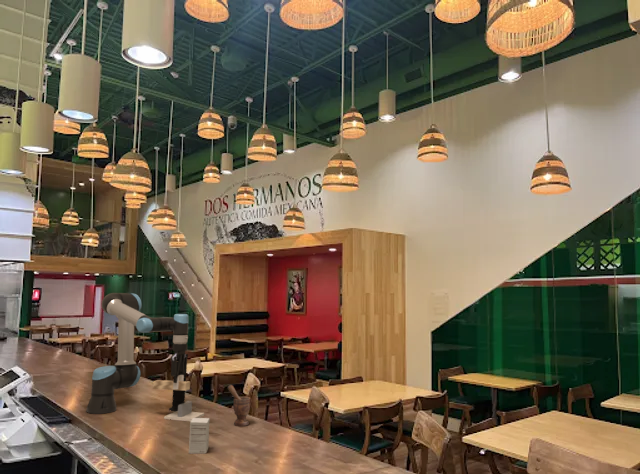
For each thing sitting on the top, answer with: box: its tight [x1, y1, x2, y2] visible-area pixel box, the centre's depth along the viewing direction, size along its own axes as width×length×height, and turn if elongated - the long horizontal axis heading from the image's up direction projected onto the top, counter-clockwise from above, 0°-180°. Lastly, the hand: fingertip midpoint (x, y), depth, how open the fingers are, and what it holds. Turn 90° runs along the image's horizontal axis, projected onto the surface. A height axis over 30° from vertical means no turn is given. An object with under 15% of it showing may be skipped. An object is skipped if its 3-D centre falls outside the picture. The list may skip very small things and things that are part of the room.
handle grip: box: [168, 373, 187, 412], centre depth 283 cm, size 10×26×10 cm
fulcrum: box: [163, 400, 205, 422], centre depth 264 cm, size 16×14×7 cm
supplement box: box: [188, 417, 210, 455], centre depth 209 cm, size 7×7×13 cm
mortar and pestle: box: [227, 384, 252, 427], centre depth 252 cm, size 12×9×20 cm
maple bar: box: [152, 379, 191, 392], centre depth 263 cm, size 20×4×4 cm, turn 71°
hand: (178, 388), depth 262 cm, fingers closed on maple bar, 4 cm apart
